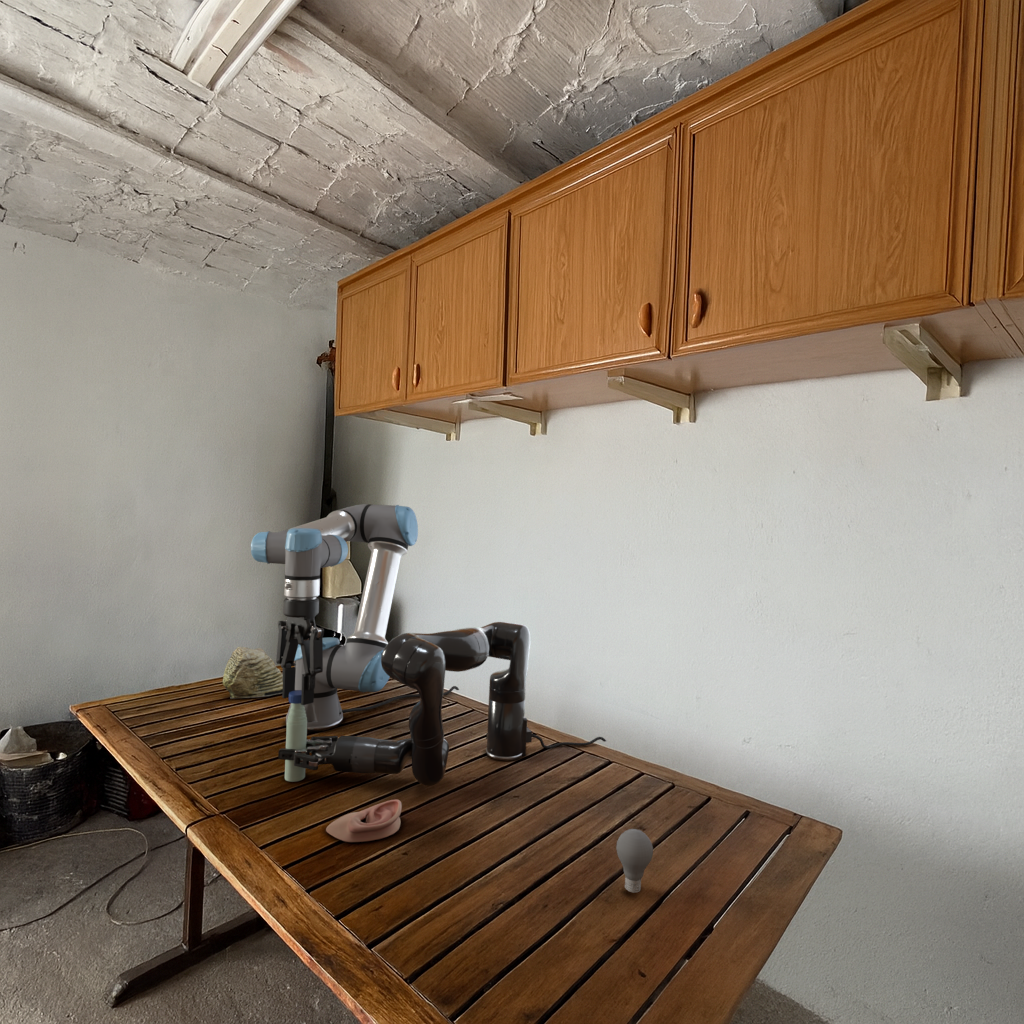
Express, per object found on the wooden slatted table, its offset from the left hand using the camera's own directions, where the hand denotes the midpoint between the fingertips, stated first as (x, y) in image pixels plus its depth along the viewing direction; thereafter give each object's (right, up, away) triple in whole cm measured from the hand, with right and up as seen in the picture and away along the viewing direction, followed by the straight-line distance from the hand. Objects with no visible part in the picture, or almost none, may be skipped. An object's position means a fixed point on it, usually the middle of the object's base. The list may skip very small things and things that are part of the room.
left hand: (297, 699), depth 142 cm
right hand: (-3, -11, 0) cm, 12 cm away
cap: (0, +1, 0) cm, 1 cm away
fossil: (-33, -15, +56) cm, 67 cm away
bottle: (-1, -18, 0) cm, 18 cm away
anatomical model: (+20, -19, -20) cm, 34 cm away
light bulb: (+68, -21, -36) cm, 80 cm away
